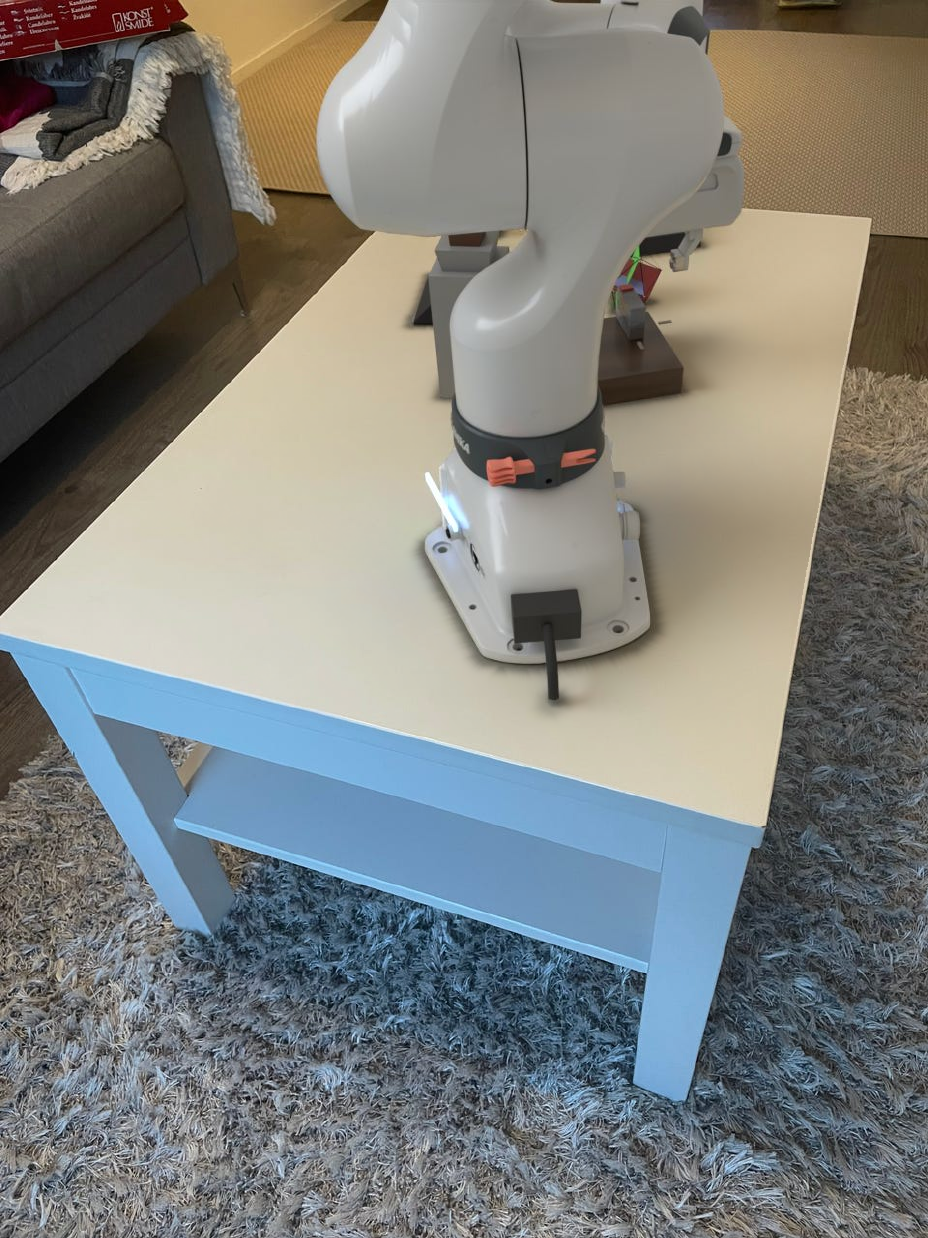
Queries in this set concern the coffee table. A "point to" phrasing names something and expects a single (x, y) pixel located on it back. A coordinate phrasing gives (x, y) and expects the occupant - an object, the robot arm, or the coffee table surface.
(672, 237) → the block
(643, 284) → the geometric puzzle
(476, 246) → the perfume bottle
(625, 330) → the grey block
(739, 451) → the coffee table surface
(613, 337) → the dark brown block
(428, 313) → the black triangular piece
